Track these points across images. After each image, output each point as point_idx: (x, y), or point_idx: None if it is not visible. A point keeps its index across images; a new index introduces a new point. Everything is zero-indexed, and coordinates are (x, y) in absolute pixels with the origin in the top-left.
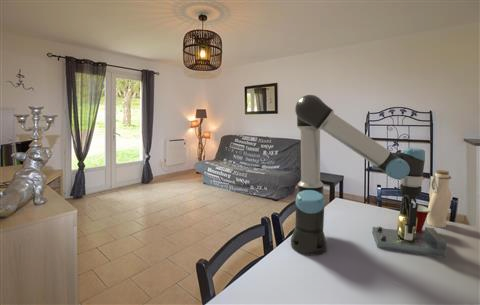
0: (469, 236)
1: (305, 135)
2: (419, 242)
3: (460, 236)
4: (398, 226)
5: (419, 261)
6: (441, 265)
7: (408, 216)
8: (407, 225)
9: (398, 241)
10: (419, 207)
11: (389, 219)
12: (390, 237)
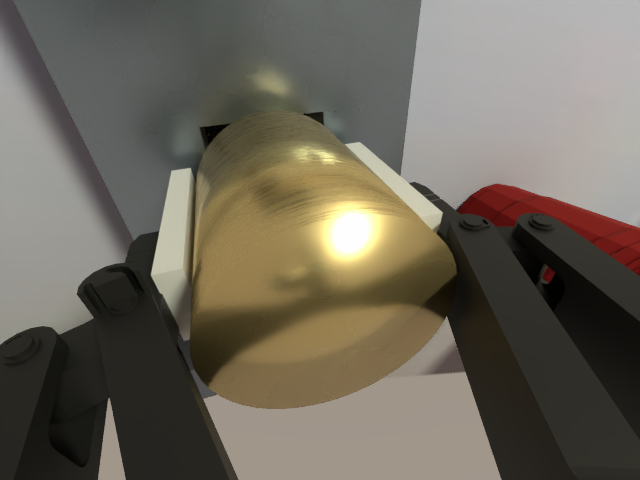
0: (436, 364)
1: None
2: None
3: (432, 349)
4: (264, 145)
5: (5, 224)
6: (68, 316)
7: (123, 455)
8: (105, 296)
9: (131, 104)
10: None
11: (634, 86)
12: (192, 21)
